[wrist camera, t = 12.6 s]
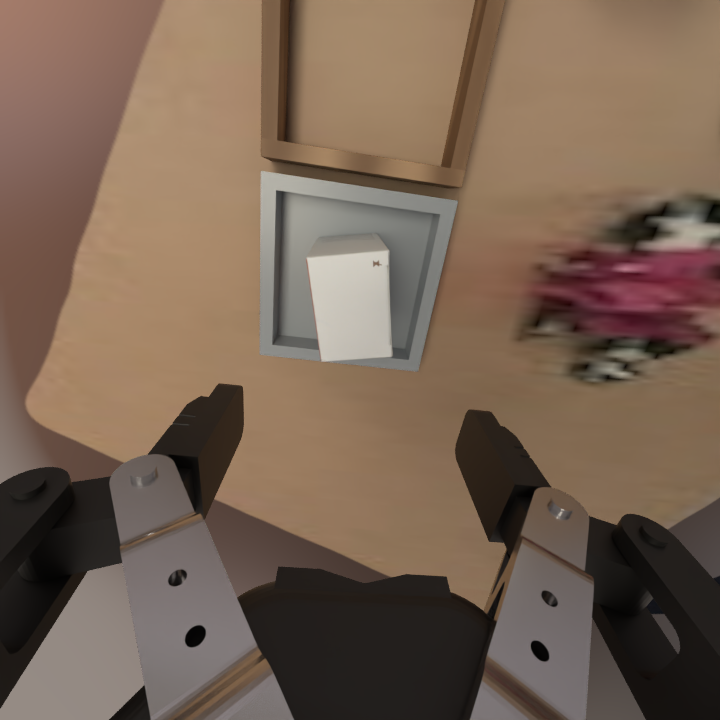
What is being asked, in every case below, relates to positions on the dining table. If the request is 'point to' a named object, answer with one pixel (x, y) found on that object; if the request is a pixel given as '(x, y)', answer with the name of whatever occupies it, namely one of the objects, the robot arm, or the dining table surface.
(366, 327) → the small box
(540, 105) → the dining table surface
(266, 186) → the tray
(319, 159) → the frame
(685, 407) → the dining table surface
